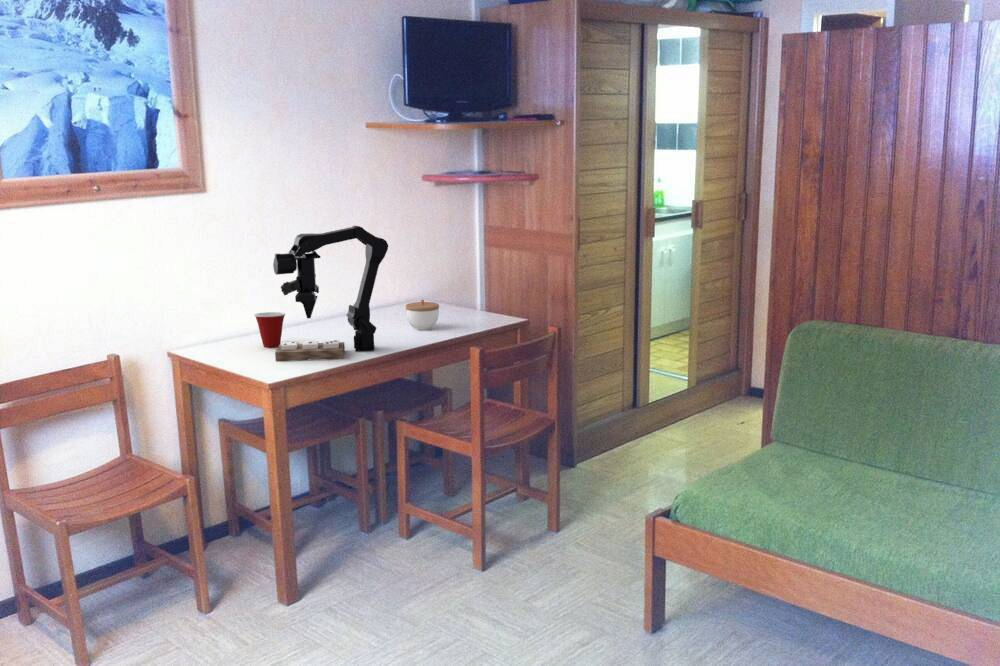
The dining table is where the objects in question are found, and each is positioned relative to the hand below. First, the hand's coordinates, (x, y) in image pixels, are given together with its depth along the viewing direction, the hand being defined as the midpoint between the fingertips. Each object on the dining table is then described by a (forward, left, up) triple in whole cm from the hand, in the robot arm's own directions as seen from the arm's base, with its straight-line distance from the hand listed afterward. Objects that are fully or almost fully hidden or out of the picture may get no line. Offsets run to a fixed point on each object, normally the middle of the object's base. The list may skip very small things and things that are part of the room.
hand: (308, 318), depth 319 cm
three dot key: (-7, 0, -10) cm, 12 cm away
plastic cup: (+15, -17, -13) cm, 26 cm away
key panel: (0, 0, -13) cm, 13 cm away
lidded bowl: (-39, -39, -13) cm, 57 cm away
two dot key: (+7, 0, -10) cm, 12 cm away
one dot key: (0, 0, -10) cm, 10 cm away
